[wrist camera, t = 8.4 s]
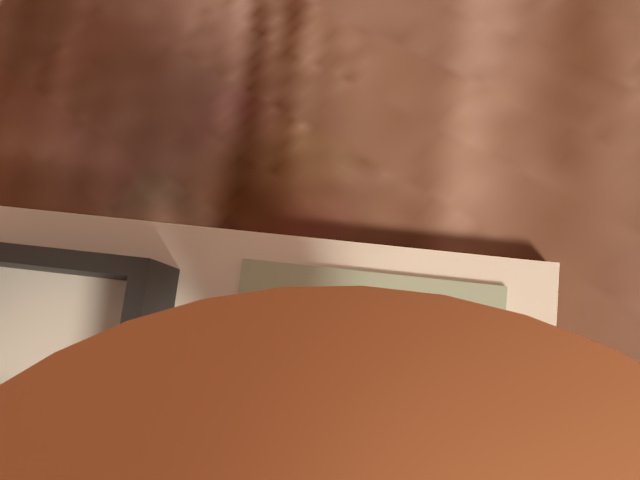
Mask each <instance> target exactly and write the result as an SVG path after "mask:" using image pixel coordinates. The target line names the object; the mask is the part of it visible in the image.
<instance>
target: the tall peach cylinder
mask: <svg viewBox="0 0 640 480" xmlns="http://www.w3.org/2000/svg"><path fill="white" fill-rule="evenodd" d="M0 480H640V363H638V362H637V361H635V360H633V359H631V358H629V357H627V356H625V355H623V354H622V353H620V352H618V351H616V350H614V349H612V348H610V347H608V346H606V345H603V344H601V343H598V342H595V341H593V340H590V339H588V338H585V337H582V336H580V335H577V334H575V333H572V332H569V331H567V330H564V329H561V328H559V327H556V326H554V325H551V324H548V323H546V322H543V321H541V320H538V319H535V318H533V317H530V316H528V315H524V314H520V313H516V312H512V311H508V310H504V309H500V308H496V307H492V306H488V305H484V304H479V303H475V302H471V301H467V300H463V299H459V298H455V297H451V296H447V295H441V294H432V293H424V292H415V291H406V290H397V289H388V288H379V287H370V286H313V287H279V288H272V289H266V290H259V291H252V292H246V293H239V294H233V295H226V296H219V297H213V298H206V299H201V300H198V301H194V302H191V303H187V304H184V305H180V306H177V307H173V308H170V309H167V310H163V311H160V312H156V313H153V314H149V315H146V316H142V317H139V318H135V319H132V320H128V321H126V322H123V323H121V324H119V325H116V326H114V327H112V328H110V329H107V330H105V331H103V332H100V333H98V334H96V335H93V336H91V337H89V338H87V339H84V340H82V341H80V342H77V343H75V344H73V345H70V346H68V347H66V348H64V349H61V350H59V351H57V352H54V353H53V354H51V355H49V356H48V357H46V358H44V359H43V360H41V361H39V362H37V363H36V364H34V365H32V366H31V367H29V368H27V369H26V370H24V371H22V372H21V373H19V374H17V375H16V376H14V377H12V378H11V379H9V380H7V381H6V382H4V383H2V384H1V385H0Z"/></svg>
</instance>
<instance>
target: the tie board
mask: <svg viewBox="0 0 640 480" xmlns="http://www.w3.org/2000/svg"><path fill="white" fill-rule="evenodd" d="M559 265H560V263H555V262H545V261H536V260H526V259H516V258H506V257H496V256H487V255H477V254H467V253H457V252H447V251H438V250H428V249H418V248H408V247H399V246H389V245H379V244H369V243H359V242H350V241H340V240H330V239H320V238H310V237H301V236H291V235H281V234H271V233H262V232H252V231H242V230H232V229H222V228H213V227H203V226H193V225H183V224H173V223H164V222H154V221H144V220H134V219H125V218H115V217H105V216H95V215H85V214H76V213H66V212H56V211H46V210H36V209H27V208H17V207H7V206H0V385H1V384H2V383H4V382H6V381H7V380H9V379H11V378H12V377H14V376H16V375H17V374H19V373H21V372H22V371H24V370H26V369H27V368H29V367H31V366H32V365H34V364H36V363H37V362H39V361H41V360H43V359H44V358H46V357H48V356H49V355H51V354H53V353H54V352H57V351H59V350H61V349H64V348H66V347H68V346H70V345H73V344H75V343H77V342H80V341H82V340H84V339H87V338H89V337H91V336H93V335H96V334H98V333H100V332H103V331H105V330H107V329H110V328H112V327H114V326H116V325H119V324H121V323H123V322H126V321H128V320H132V319H135V318H139V317H142V316H146V315H149V314H153V313H156V312H160V311H163V310H167V309H170V308H173V307H177V306H180V305H184V304H187V303H191V302H194V301H198V300H201V299H206V298H213V297H219V296H226V295H233V294H239V293H246V292H252V291H259V290H266V289H272V288H279V287H313V286H370V287H379V288H388V289H397V290H406V291H415V292H424V293H432V294H441V295H447V296H451V297H455V298H459V299H463V300H467V301H471V302H475V303H479V304H484V305H488V306H492V307H496V308H500V309H504V310H508V311H512V312H516V313H520V314H524V315H528V316H530V317H533V318H535V319H538V320H541V321H543V322H546V323H548V324H551V325H554V326H556V321H557V302H558V283H559Z"/></svg>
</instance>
